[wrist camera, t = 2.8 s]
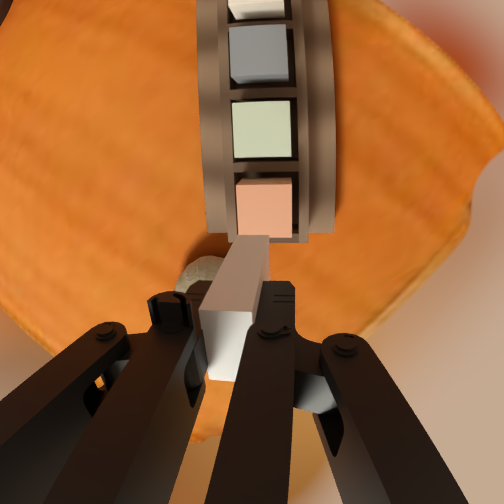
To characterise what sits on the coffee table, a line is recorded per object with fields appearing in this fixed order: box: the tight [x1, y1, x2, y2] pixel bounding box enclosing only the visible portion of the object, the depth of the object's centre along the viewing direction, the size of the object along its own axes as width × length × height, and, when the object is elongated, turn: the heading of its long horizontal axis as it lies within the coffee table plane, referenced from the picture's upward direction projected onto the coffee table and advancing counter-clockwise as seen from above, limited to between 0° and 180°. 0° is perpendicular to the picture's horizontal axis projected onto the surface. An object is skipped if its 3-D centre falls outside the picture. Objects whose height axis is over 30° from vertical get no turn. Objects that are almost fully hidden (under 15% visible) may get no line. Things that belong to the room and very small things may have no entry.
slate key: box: [229, 24, 288, 84], centre depth 20 cm, size 4×4×4 cm
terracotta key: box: [236, 177, 292, 238], centre depth 24 cm, size 4×4×4 cm
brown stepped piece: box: [197, 0, 336, 243], centre depth 24 cm, size 25×12×6 cm, turn 2°
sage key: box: [232, 101, 291, 158], centre depth 22 cm, size 4×4×4 cm
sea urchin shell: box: [174, 255, 225, 293], centre depth 33 cm, size 9×8×8 cm
